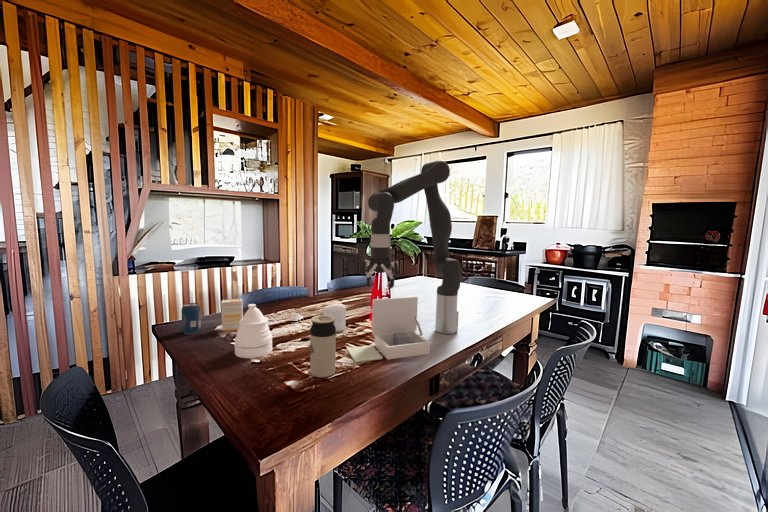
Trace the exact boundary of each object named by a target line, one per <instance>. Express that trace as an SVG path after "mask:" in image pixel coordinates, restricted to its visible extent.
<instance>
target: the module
mask: <svg viewBox="0 0 768 512" xmlns="http://www.w3.org/2000/svg"><path fill="white" fill-rule="evenodd" d="M402 344H411V342H410V335H408V334H407V333H406V332H400V333H393V344H392V346H394V345H402Z"/></svg>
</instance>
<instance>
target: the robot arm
mask: <svg viewBox="0 0 768 512" xmlns="http://www.w3.org/2000/svg"><path fill="white" fill-rule="evenodd" d="M450 172H451V169H450V165H448V163H447V162H446V161H444V160H435V161H431V162H427V163H424V164H423V165H422V167H421V169H420V173H418V174H415V175H413V176H410V177H407V178H405V179H403V180H401V181H398V182H397V183H395V184H393V185H391V186H389V187H386V188H383V189H381V190H379V191H376V192H374V193H372V194H371V195H370V196H369V198H368V200H367V205H368V208H369V209H370V210H371V211H373V212H376V217H375V218H373V219H372V221H371V236H370V260H368V259H364V260H363V261H362V267H361V268H362V270H361V275H362V276H363V277H366V286H367V287H368V288H372V285H373V284H372V283H373V282H372V281H373V278H372V275H373V274H374V273H385V274H386V275H387V276H388V277H389V289H390V290H391V289H393V288H395V287H394V286H395V279H397V278H398V277H400V265H399V261H397V260H396V261H391V221H392V218H393V214H394V208H395V204H397V203H401V202H403V201H405V200H407V199H409V198H410V197H412V196H414V195H416V194H417V193H420V192H421V191H422V190H424V195H425V198H426V199H425V201H426V204H427V211H428V219H429V227H430V231H431V240H432V246H433V262H434V265H433V266H434V272H435V273H436V275H437V276H438V277H440V278H442V281H441V285H438V286H437V288H436V304H435V305H436V307H435V329H434V330H435V332H437V333H438V334H443V335H453V334H455V333H458V332H459V310H458V293H459V289H460V286H461V281H462V280H461V277H462V266H461V263H460V262H459V260H457V259H455V258H450V257H451V256H450V251H449V241H450V239H451V235H452V232H453V231H452V230H453V224H452V218H451V212H450V210H449V208H448V206H447V204H446V203H445V202H444V200H443V199H442V197H441V195H440V191H439V185H438V184H441V183H444V182H446V181H447V180H448V178H449V176H450V174H451V173H450ZM368 266H370V267H371V269H370V270H369V271H368ZM391 266H392V268H393V269H394V270H393V271H392V270H391ZM393 272H394V273H393Z"/></svg>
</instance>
